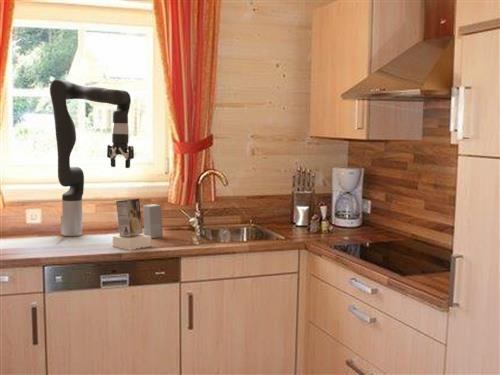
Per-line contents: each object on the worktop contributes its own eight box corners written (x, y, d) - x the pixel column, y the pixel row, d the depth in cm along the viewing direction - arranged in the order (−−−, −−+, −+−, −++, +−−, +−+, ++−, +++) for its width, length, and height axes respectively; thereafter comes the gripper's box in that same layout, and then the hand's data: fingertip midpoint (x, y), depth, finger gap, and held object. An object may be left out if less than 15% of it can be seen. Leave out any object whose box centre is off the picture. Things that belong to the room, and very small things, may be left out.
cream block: (112, 247, 260) (112, 236, 259) (133, 243, 269) (133, 232, 269) (130, 251, 253) (130, 239, 252) (150, 247, 262) (151, 236, 261)
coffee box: (131, 233, 267) (128, 199, 266) (143, 233, 264) (139, 198, 263) (119, 236, 259) (115, 201, 258) (130, 236, 256) (127, 200, 255)
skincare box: (163, 237, 282) (163, 205, 280) (149, 238, 278) (149, 206, 276) (155, 234, 289) (155, 203, 287) (142, 236, 285) (142, 204, 283)
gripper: (103, 132, 272) (103, 167, 274) (127, 133, 266) (127, 168, 267) (113, 132, 279) (114, 166, 280) (137, 133, 272) (137, 167, 274)
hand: (120, 167), depth 274 cm, fingers open, 8 cm apart
